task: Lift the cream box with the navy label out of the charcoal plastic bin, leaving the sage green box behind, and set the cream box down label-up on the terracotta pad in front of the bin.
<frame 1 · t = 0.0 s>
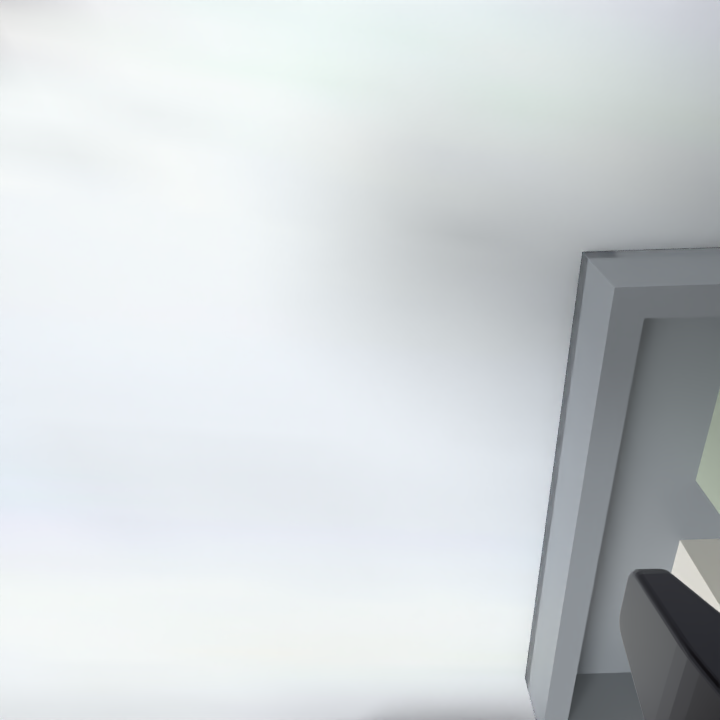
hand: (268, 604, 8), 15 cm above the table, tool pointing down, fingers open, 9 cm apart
labelled box: (719, 591, 28), point 1 cm above the table, touching parts bin
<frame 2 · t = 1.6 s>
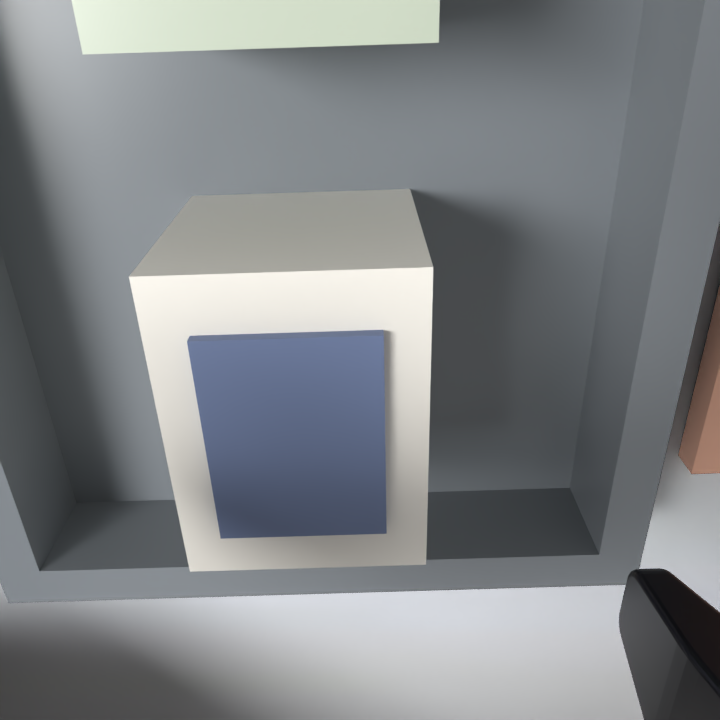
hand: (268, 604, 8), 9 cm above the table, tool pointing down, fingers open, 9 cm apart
parts bin: (297, 111, 14), on the table
labelled box: (310, 323, 15), point 1 cm above the table, touching parts bin
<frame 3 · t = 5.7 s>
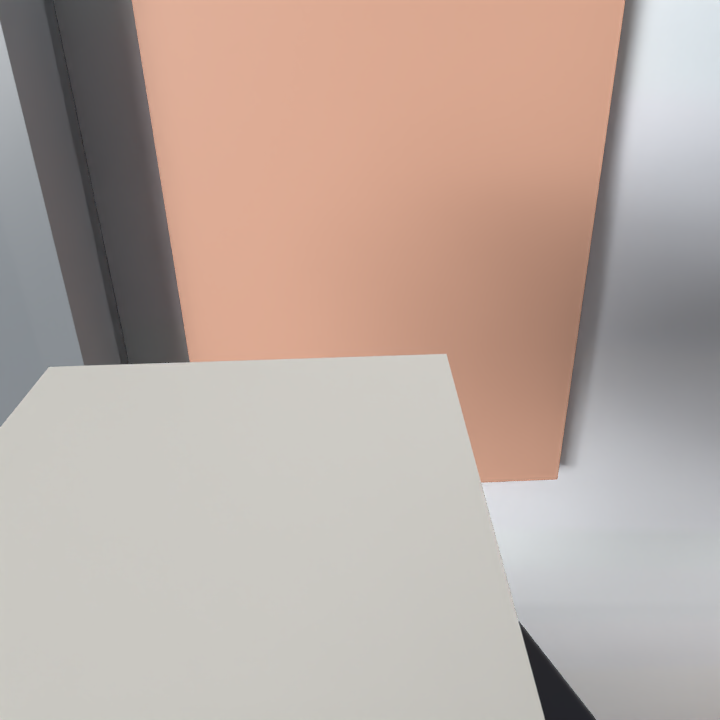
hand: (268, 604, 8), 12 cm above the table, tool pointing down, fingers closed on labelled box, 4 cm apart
labelled box: (271, 556, 9), point 11 cm above the table, touching gripper
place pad: (381, 268, 19), on the table
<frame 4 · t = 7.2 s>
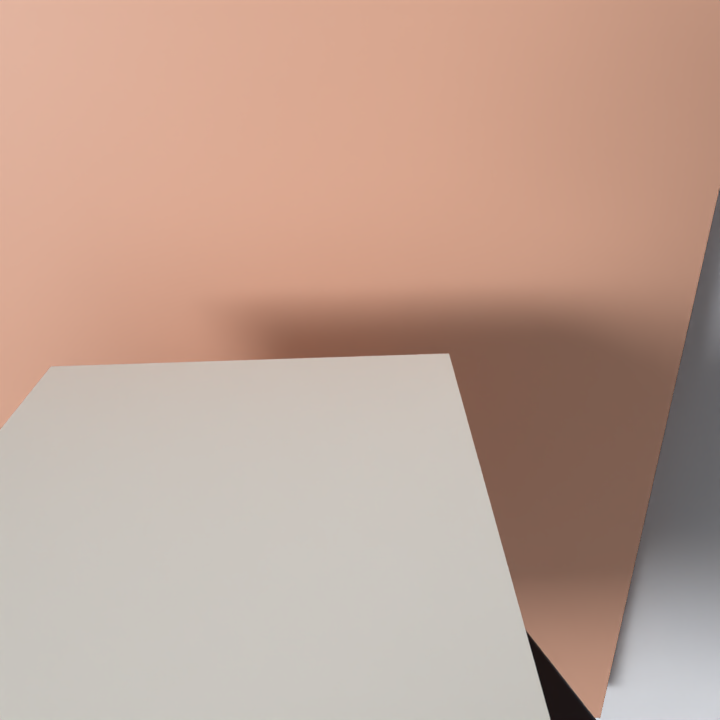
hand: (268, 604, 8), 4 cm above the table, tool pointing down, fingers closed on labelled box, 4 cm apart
labelled box: (273, 556, 9), point 3 cm above the table, touching gripper
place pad: (323, 430, 12), on the table
when the fingers open (3 cm above the table, at t = 8.2 s): labelled box drops 1 cm, resting on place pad.
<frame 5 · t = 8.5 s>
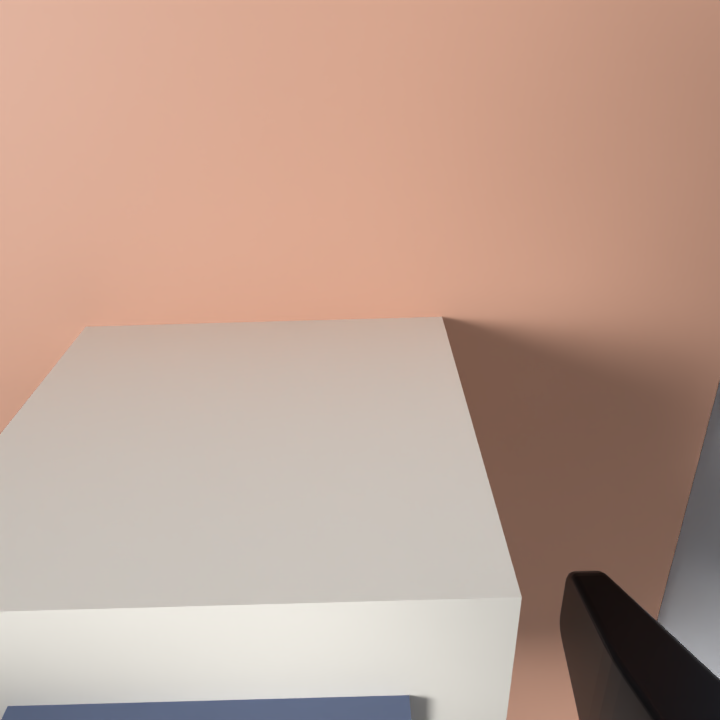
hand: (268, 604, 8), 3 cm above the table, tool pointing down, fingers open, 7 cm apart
labelled box: (282, 505, 10), point 1 cm above the table, touching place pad
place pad: (319, 472, 11), on the table
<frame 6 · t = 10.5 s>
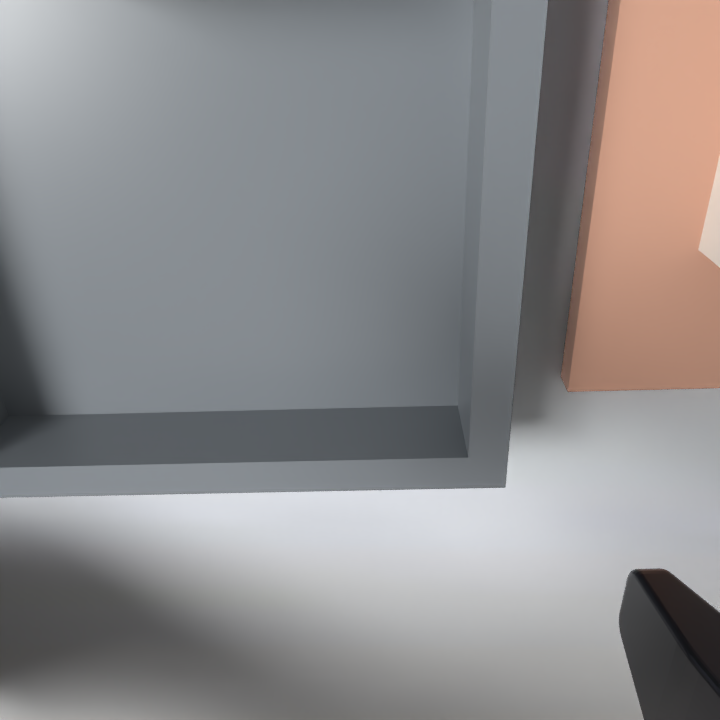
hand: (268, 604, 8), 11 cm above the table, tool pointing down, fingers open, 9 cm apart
parts bin: (179, 45, 15), on the table
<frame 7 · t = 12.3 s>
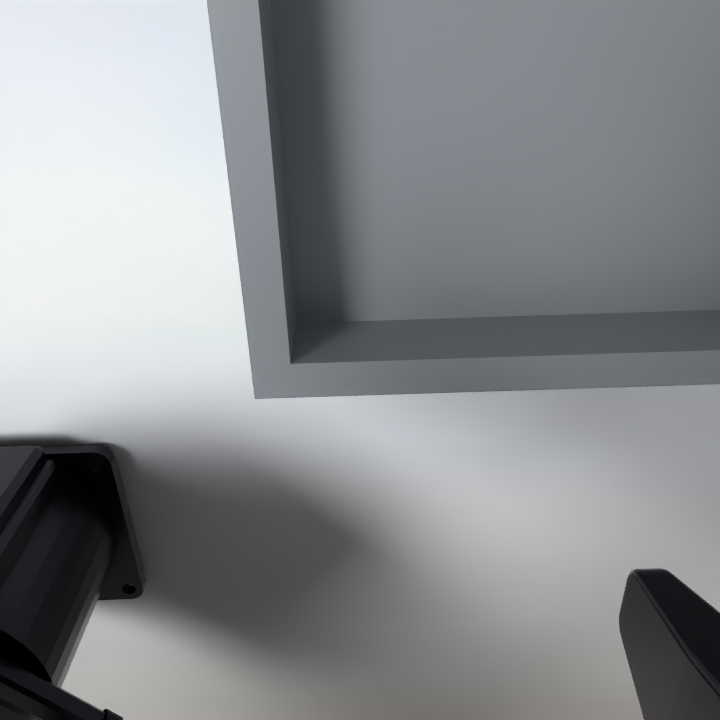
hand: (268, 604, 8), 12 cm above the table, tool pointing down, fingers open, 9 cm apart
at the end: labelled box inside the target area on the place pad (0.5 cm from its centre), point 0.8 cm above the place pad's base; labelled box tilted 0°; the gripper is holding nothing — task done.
